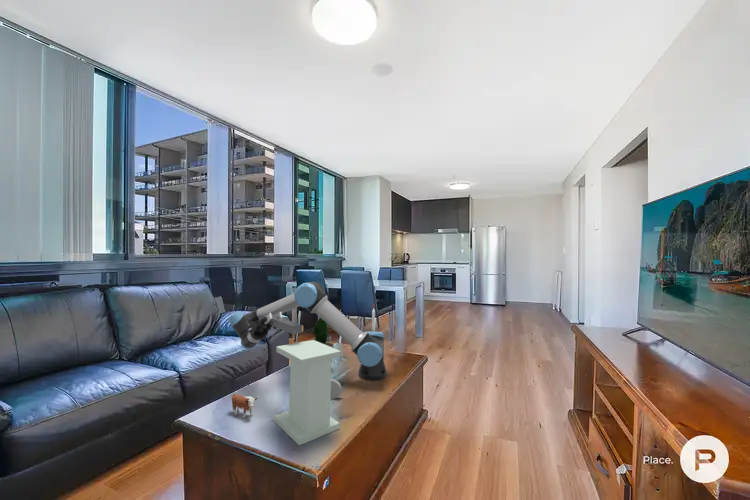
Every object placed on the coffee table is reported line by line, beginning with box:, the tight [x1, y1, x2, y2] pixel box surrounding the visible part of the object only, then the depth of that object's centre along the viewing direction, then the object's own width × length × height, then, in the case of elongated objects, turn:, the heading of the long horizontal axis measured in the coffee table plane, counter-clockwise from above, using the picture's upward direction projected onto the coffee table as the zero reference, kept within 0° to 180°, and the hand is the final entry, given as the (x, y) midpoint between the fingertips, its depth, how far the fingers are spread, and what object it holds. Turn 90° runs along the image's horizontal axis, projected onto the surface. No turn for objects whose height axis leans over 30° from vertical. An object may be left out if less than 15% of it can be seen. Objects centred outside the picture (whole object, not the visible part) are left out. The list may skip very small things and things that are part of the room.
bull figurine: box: [231, 393, 258, 419], centre depth 120 cm, size 4×13×8 cm, turn 58°
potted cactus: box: [313, 317, 335, 364], centre depth 167 cm, size 15×15×30 cm
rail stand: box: [273, 339, 342, 446], centre depth 114 cm, size 20×16×28 cm
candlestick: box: [371, 304, 376, 332], centre depth 191 cm, size 11×11×35 cm
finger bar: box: [263, 314, 304, 335], centre depth 132 cm, size 30×5×3 cm, turn 42°
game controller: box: [330, 378, 343, 400], centre depth 137 cm, size 20×2×8 cm, turn 80°
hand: (275, 315), depth 136 cm, fingers closed on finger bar, 4 cm apart
